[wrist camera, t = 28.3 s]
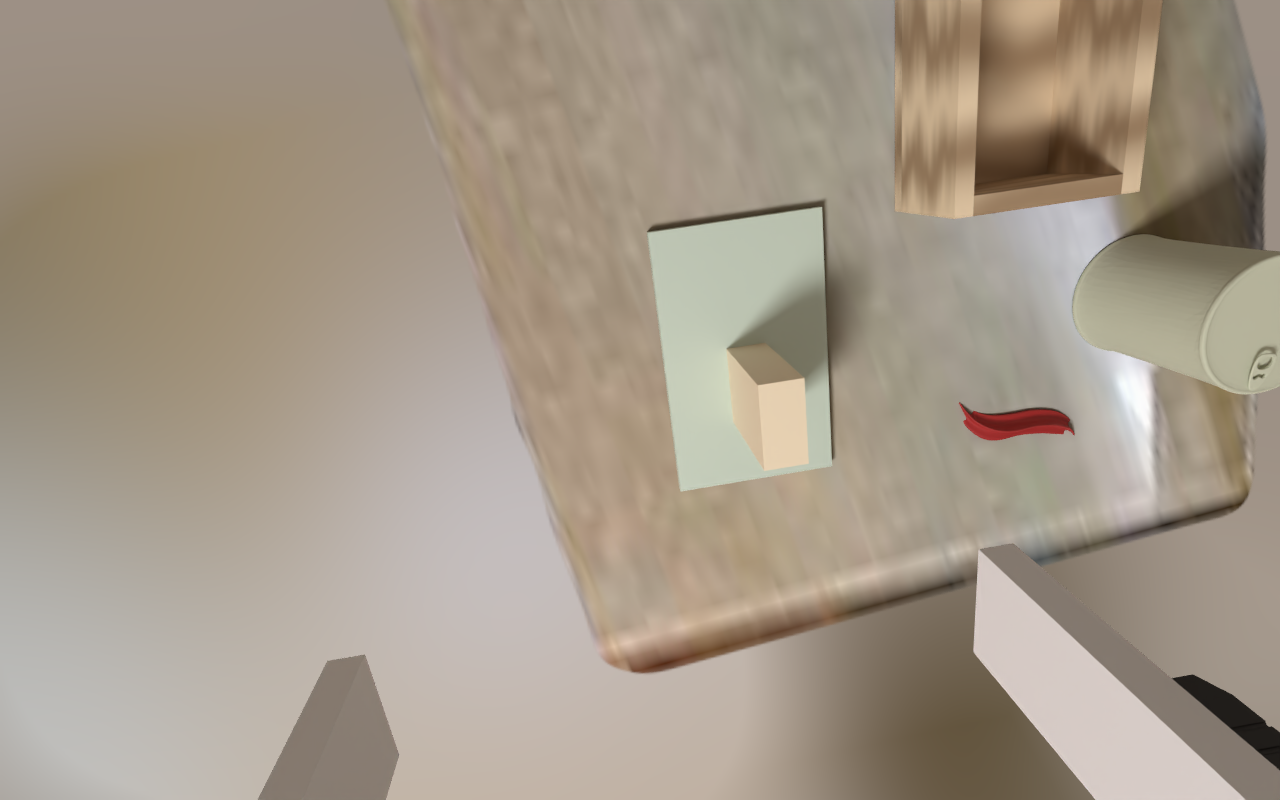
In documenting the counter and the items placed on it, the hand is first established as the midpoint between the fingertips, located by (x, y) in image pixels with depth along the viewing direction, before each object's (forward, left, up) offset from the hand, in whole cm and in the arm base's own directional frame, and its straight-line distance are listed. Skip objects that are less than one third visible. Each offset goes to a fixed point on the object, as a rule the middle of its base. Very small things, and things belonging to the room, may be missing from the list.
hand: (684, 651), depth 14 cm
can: (+5, +41, -37) cm, 55 cm away
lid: (+5, +10, -37) cm, 39 cm away
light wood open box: (-14, +28, -37) cm, 48 cm away
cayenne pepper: (+15, +32, -37) cm, 52 cm away
